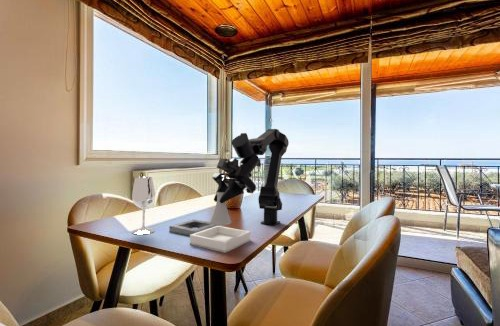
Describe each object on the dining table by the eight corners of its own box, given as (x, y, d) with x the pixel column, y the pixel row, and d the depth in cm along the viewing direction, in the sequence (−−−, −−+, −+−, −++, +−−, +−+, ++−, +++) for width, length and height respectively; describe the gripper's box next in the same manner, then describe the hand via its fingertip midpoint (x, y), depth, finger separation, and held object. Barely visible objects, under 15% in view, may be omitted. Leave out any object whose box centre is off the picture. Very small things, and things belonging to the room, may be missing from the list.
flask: (228, 226, 81) (228, 194, 81) (206, 225, 83) (206, 193, 82) (234, 221, 88) (234, 191, 88) (214, 220, 90) (214, 190, 90)
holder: (193, 224, 108) (193, 219, 108) (218, 229, 101) (219, 223, 101) (169, 231, 97) (169, 226, 97) (195, 237, 90) (195, 231, 90)
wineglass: (146, 227, 101) (147, 176, 101) (159, 231, 97) (159, 177, 97) (127, 232, 95) (127, 177, 95) (139, 236, 91) (140, 178, 90)
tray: (217, 233, 95) (217, 225, 95) (250, 240, 88) (250, 231, 88) (189, 244, 83) (189, 234, 83) (225, 253, 76) (225, 242, 76)
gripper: (216, 150, 95) (188, 182, 88) (249, 149, 80) (217, 188, 73) (234, 171, 100) (208, 203, 93) (267, 174, 85) (240, 212, 79)
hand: (217, 201), depth 84 cm, fingers closed on flask, 3 cm apart
